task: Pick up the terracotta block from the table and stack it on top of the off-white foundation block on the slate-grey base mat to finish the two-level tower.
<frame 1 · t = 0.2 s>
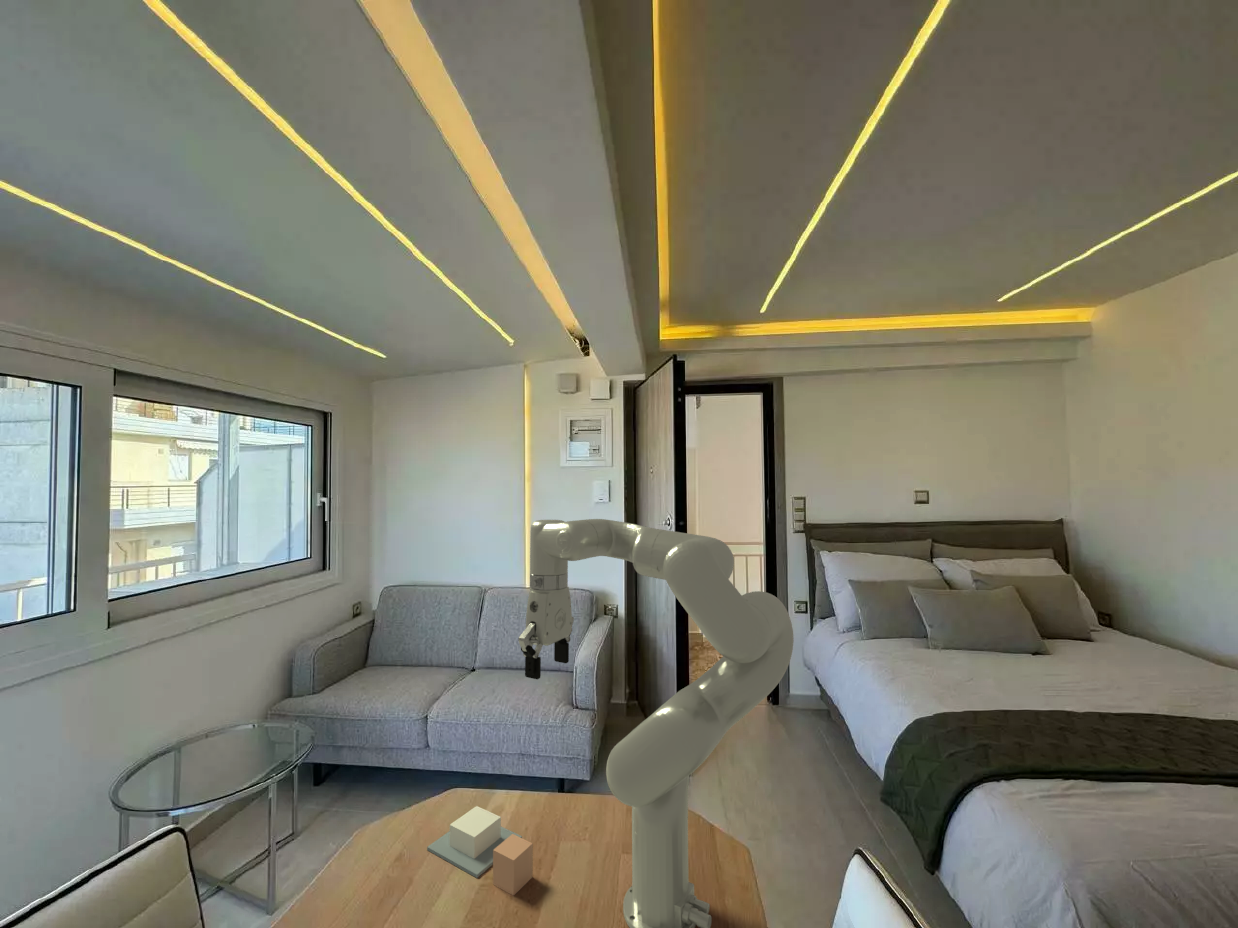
hand: (547, 669, 99), 36 cm above the table, tool pointing down, fingers open, 9 cm apart
terracotta block: (512, 880, 91), on the table
foundation: (475, 844, 100), on the table
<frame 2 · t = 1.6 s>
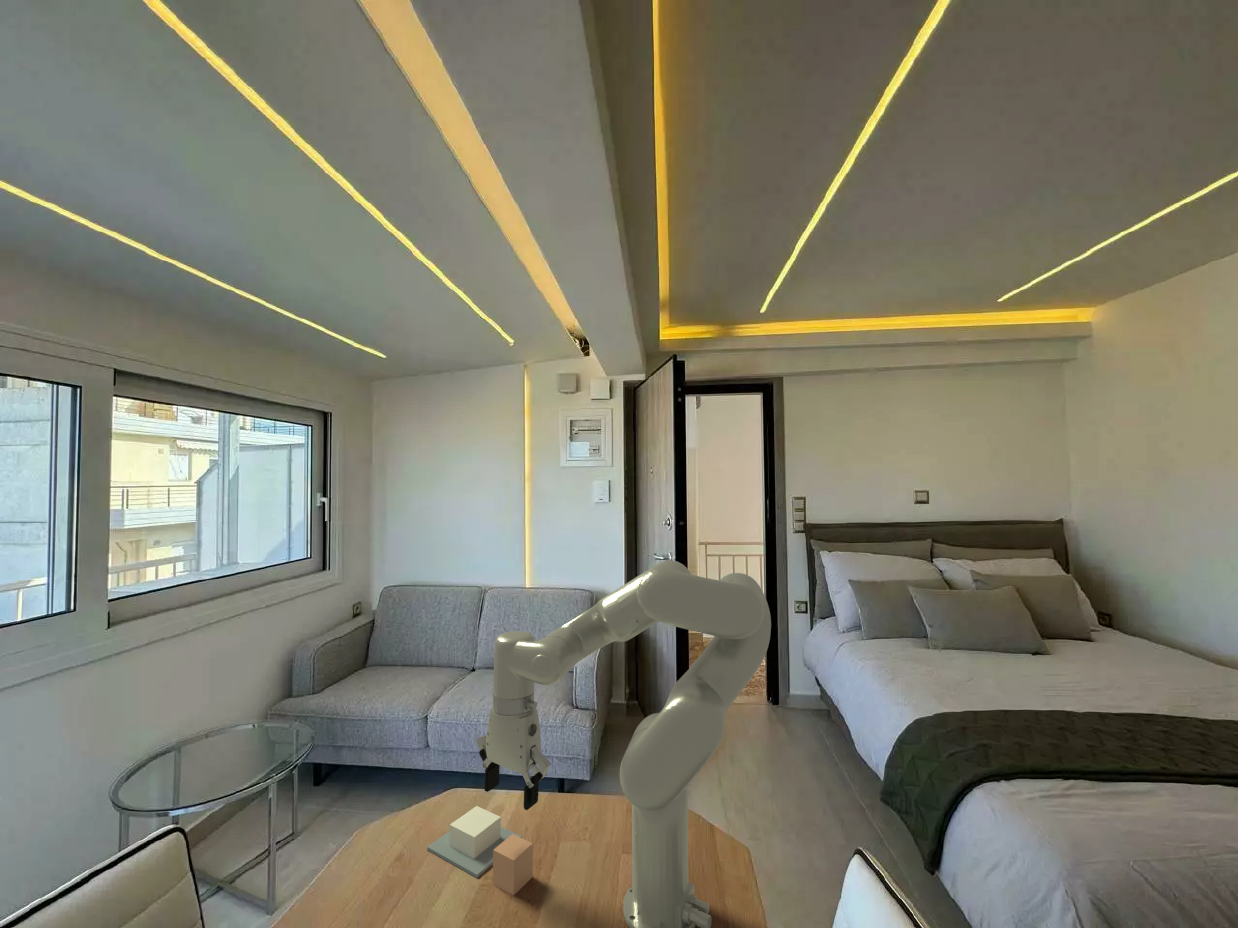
hand: (510, 796, 92), 15 cm above the table, tool pointing down, fingers open, 9 cm apart
nothing on the table moved.
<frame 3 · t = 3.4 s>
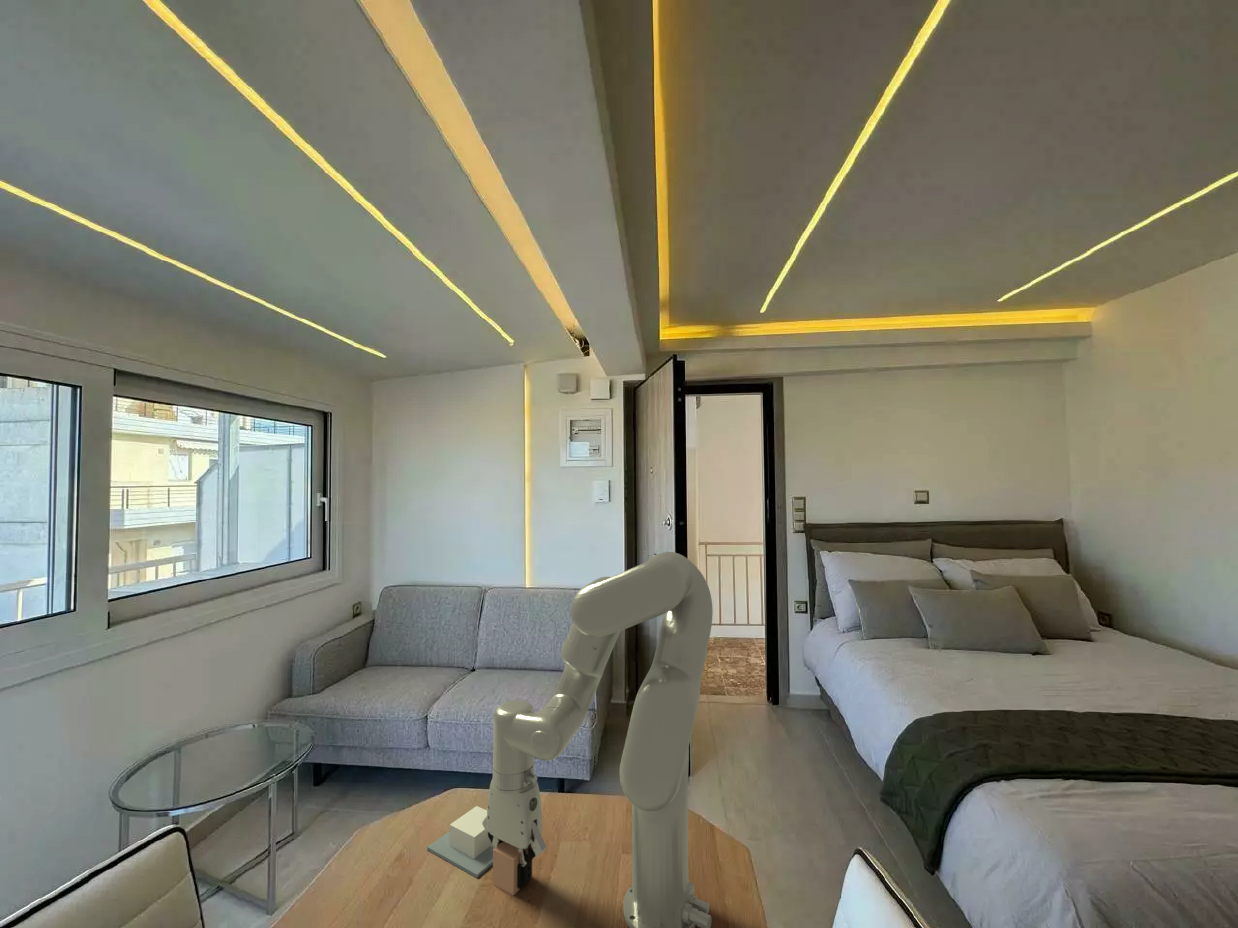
hand: (512, 875, 91), 1 cm above the table, tool pointing down, fingers closed on terracotta block, 5 cm apart
terracotta block: (512, 880, 91), on the table, touching gripper
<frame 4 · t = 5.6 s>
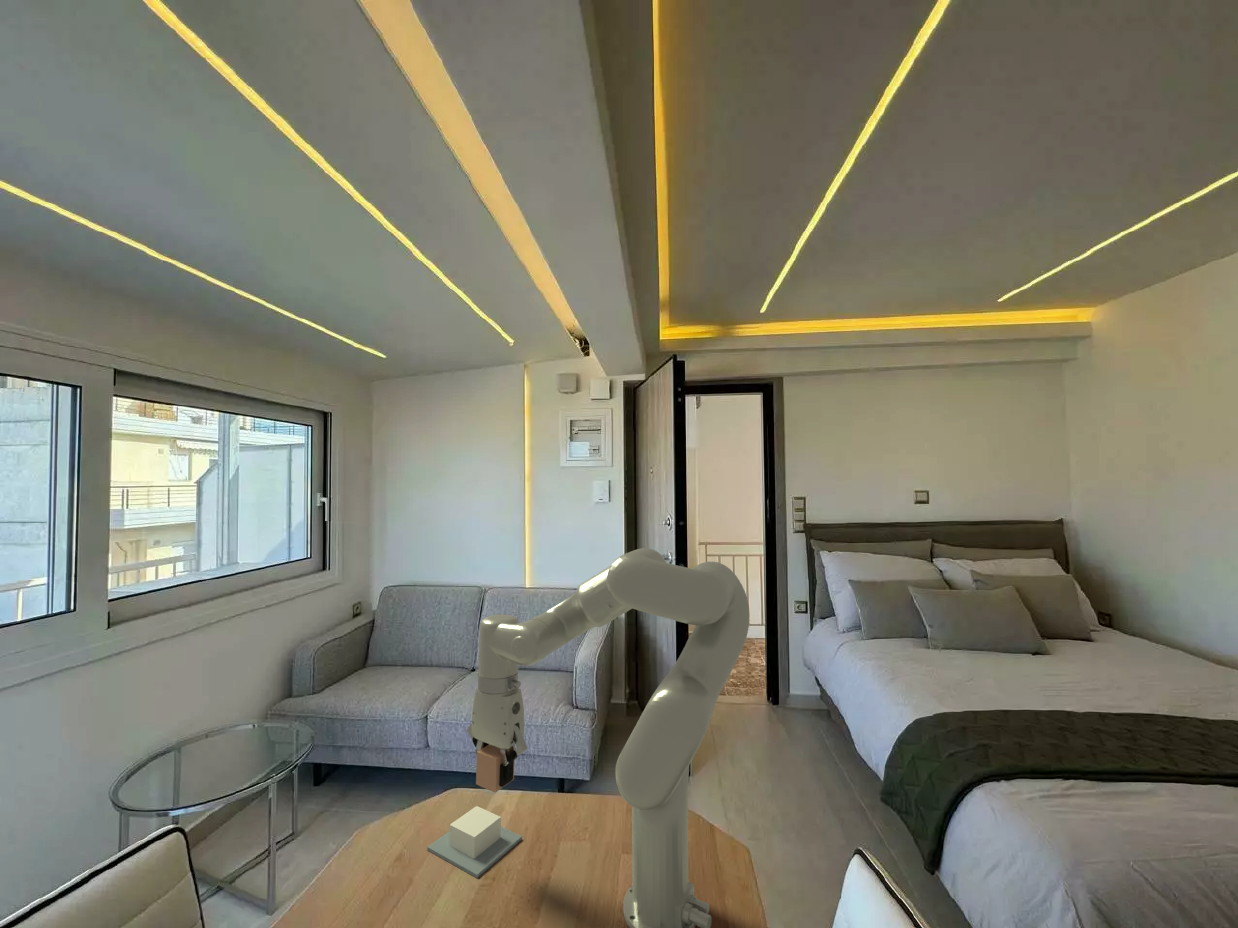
hand: (495, 777, 96), 16 cm above the table, tool pointing down, fingers closed on terracotta block, 5 cm apart
terracotta block: (495, 781, 96), point 15 cm above the table, touching gripper
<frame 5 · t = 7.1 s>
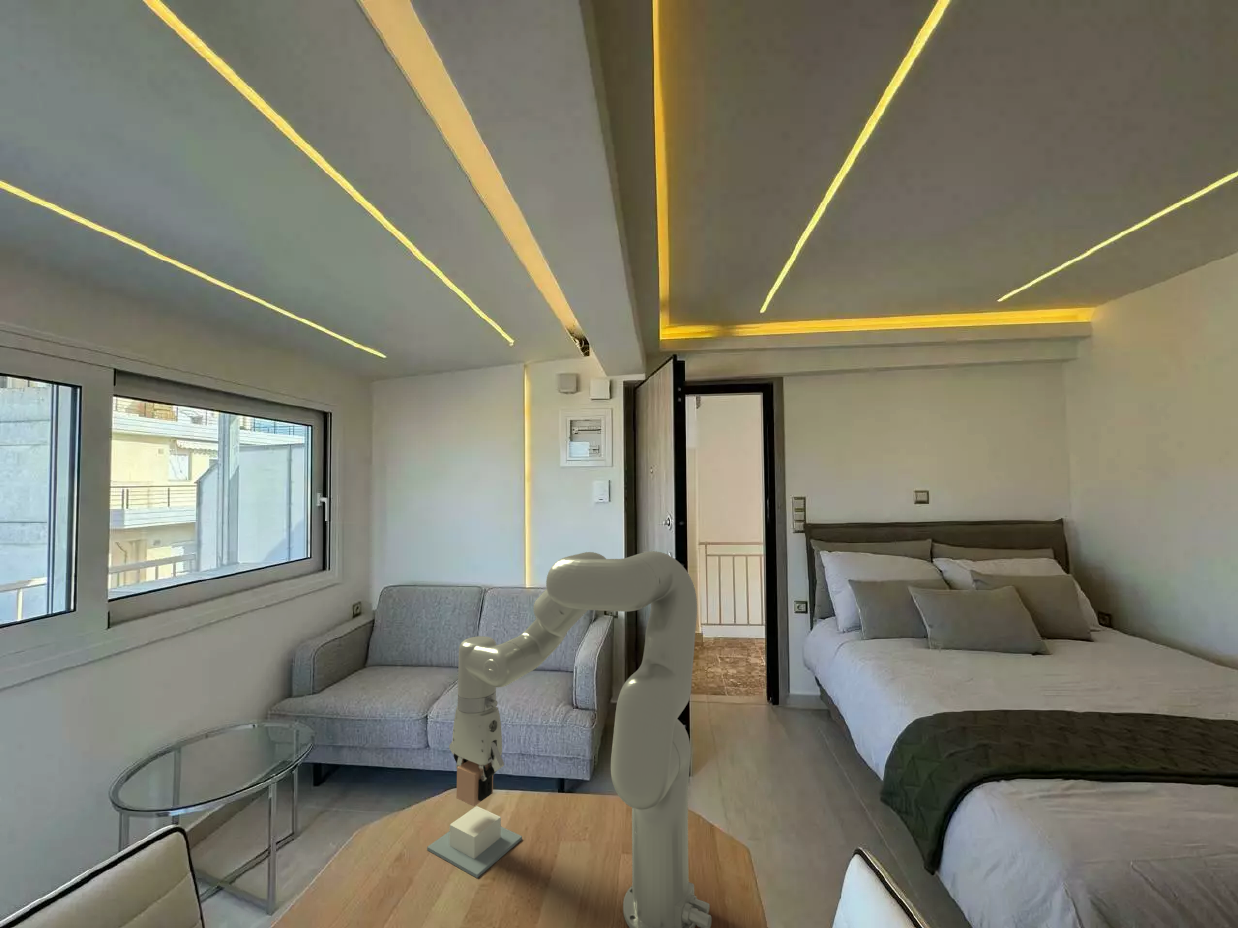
hand: (474, 791, 101), 10 cm above the table, tool pointing down, fingers closed on terracotta block, 5 cm apart
terracotta block: (474, 795, 101), point 9 cm above the table, touching gripper
when the fingers open (7 cm above the table, at t = 8.1 s): terracotta block drops 1 cm, resting on foundation.
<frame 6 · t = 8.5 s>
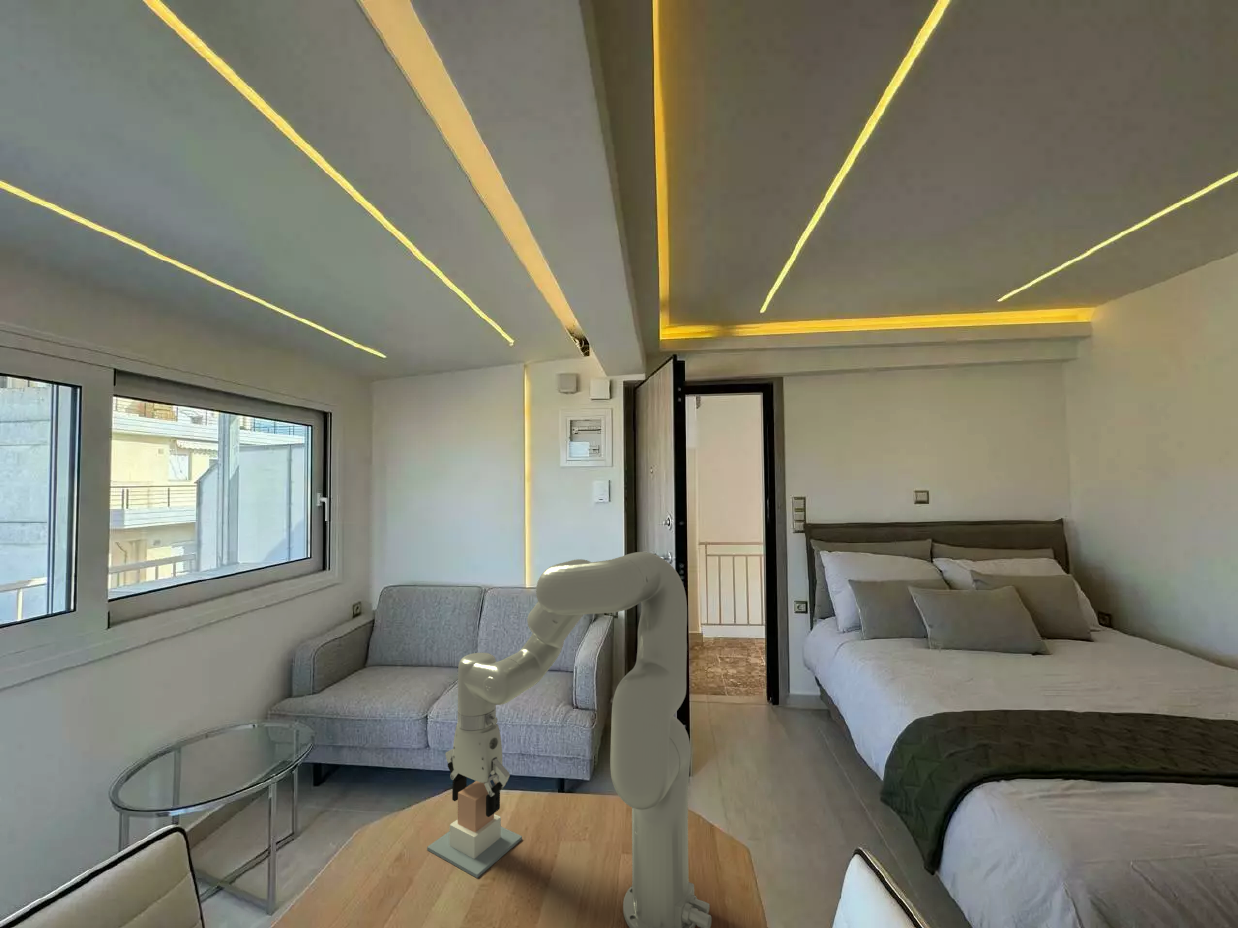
hand: (475, 804, 101), 8 cm above the table, tool pointing down, fingers open, 9 cm apart
terracotta block: (475, 820, 100), point 5 cm above the table, touching foundation
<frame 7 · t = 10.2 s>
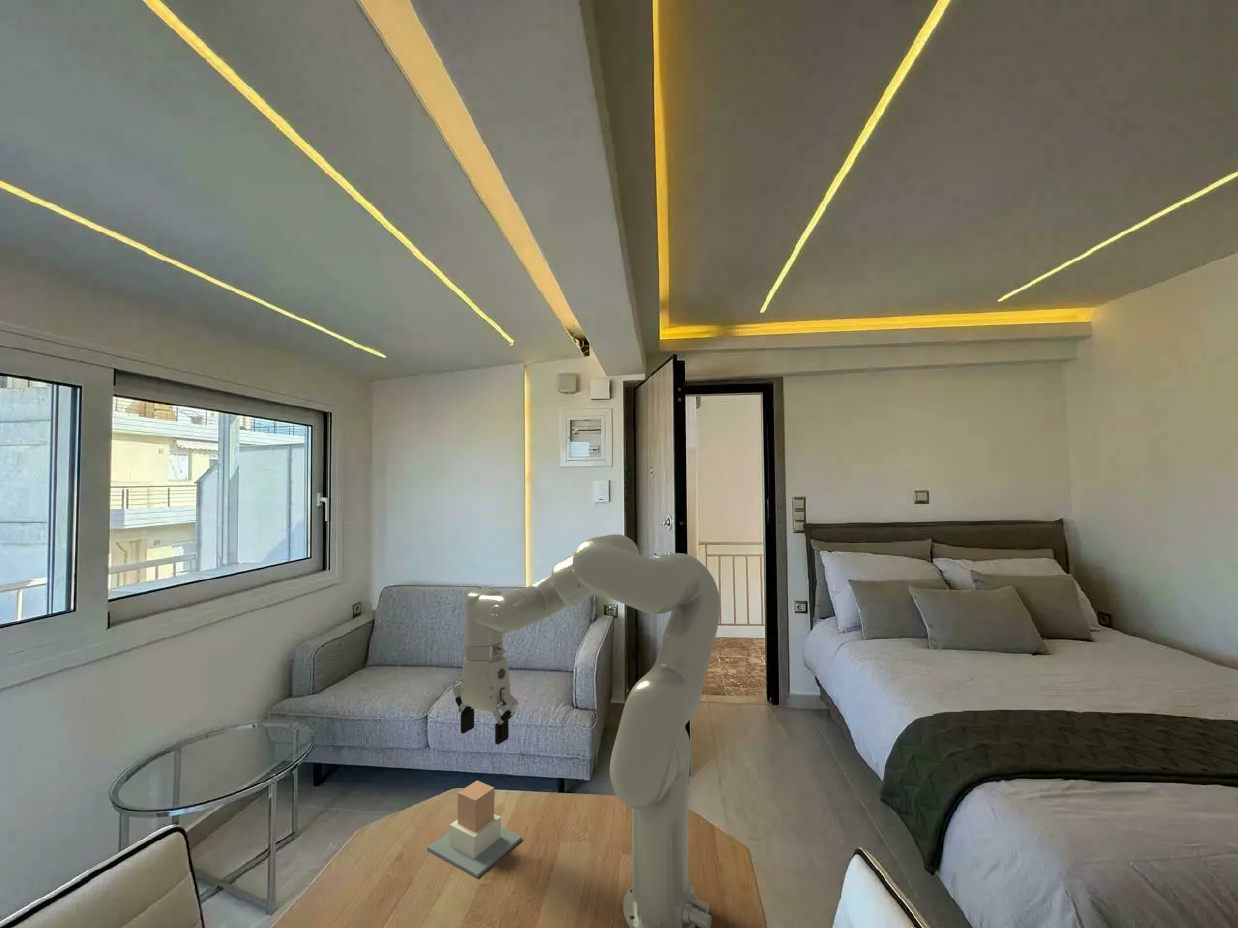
hand: (484, 735, 102), 21 cm above the table, tool pointing down, fingers open, 9 cm apart
nothing on the table moved.
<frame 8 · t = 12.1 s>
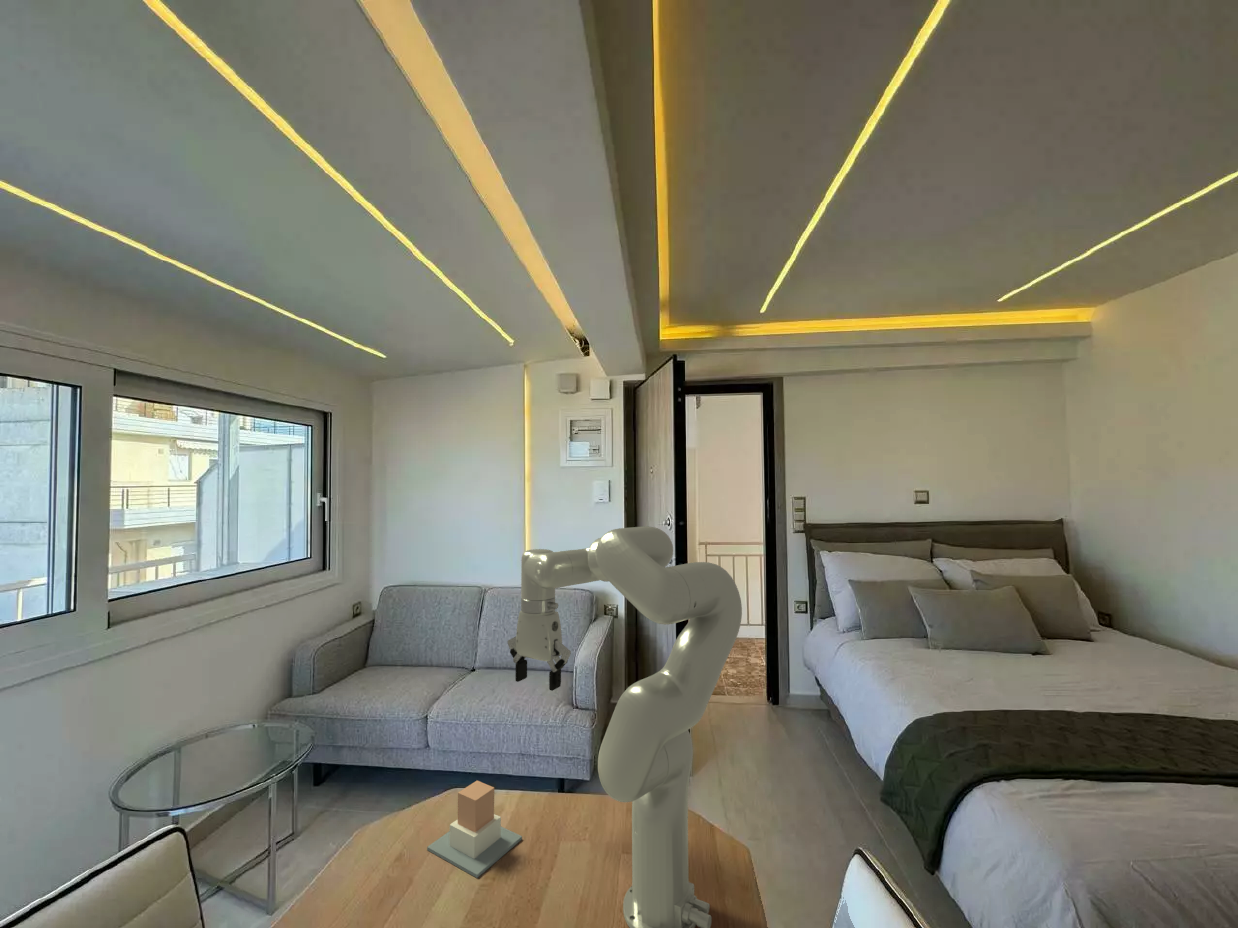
hand: (537, 683, 110), 28 cm above the table, tool pointing down, fingers open, 9 cm apart
nothing on the table moved.
at the end: terracotta block 0.1 cm off-centre on the foundation, point 4.6 cm above the foundation's base; terracotta block tilted 0°; the gripper is holding nothing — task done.
